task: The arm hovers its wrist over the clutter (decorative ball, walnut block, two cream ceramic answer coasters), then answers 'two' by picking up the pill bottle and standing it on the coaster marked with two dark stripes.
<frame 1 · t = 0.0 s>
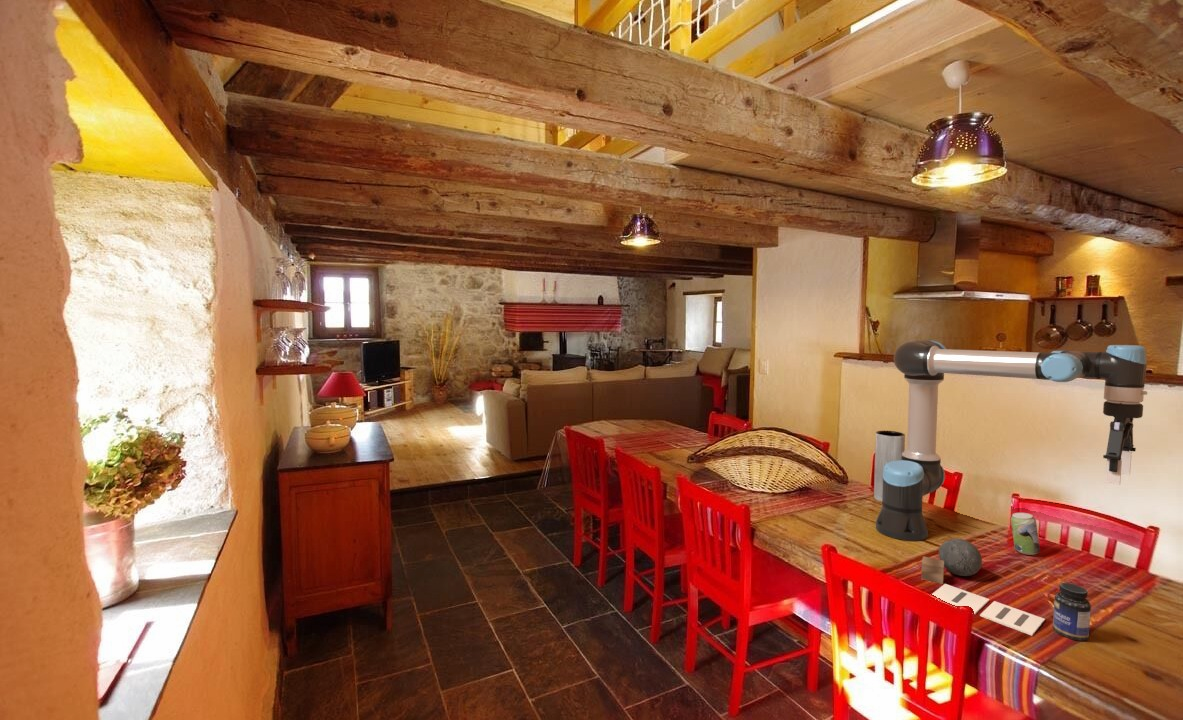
hand: (1118, 478, 142), 28 cm above the table, fingers open, 13 cm apart
coaster one: (959, 598, 134), on the table
beverage can: (1024, 553, 160), on the table
coaster two: (1012, 618, 125), on the table
decorative ball: (959, 574, 147), on the table
pill bottle: (1070, 634, 119), on the table
walnut block: (932, 579, 145), on the table
vase: (888, 500, 207), on the table
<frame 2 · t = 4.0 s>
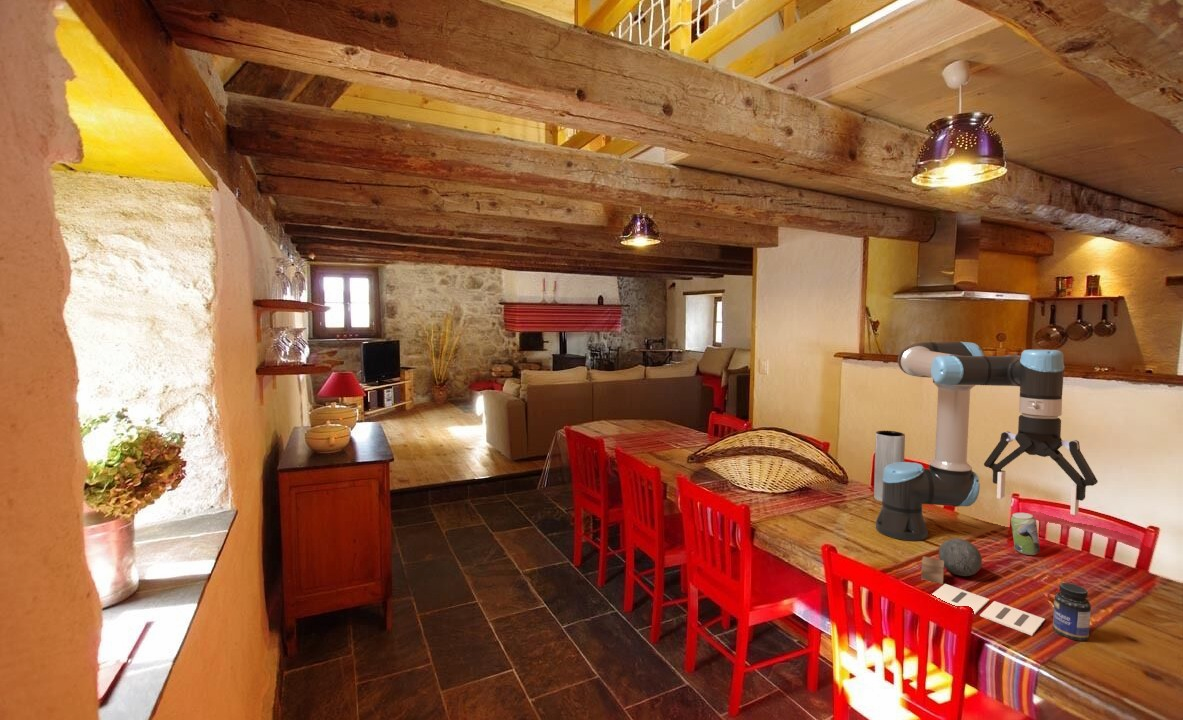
hand: (1035, 505, 122), 28 cm above the table, fingers open, 13 cm apart
nothing on the table moved.
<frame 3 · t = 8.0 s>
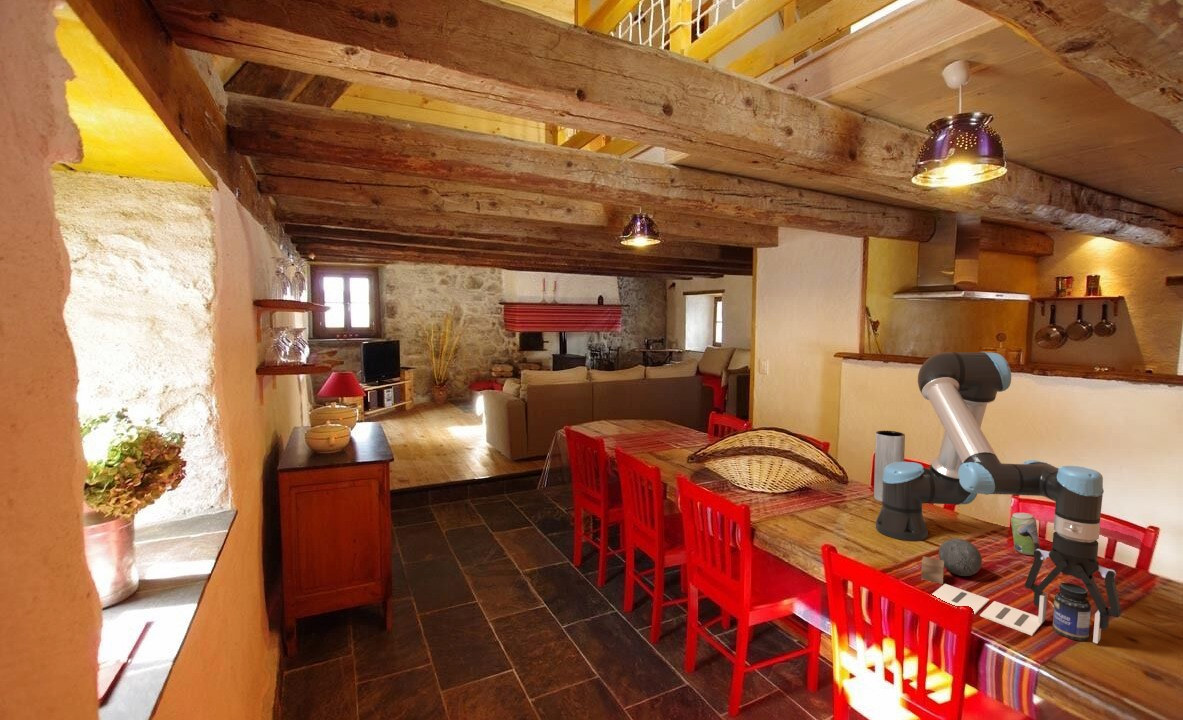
hand: (1068, 630, 119), 1 cm above the table, fingers open, 9 cm apart
nothing on the table moved.
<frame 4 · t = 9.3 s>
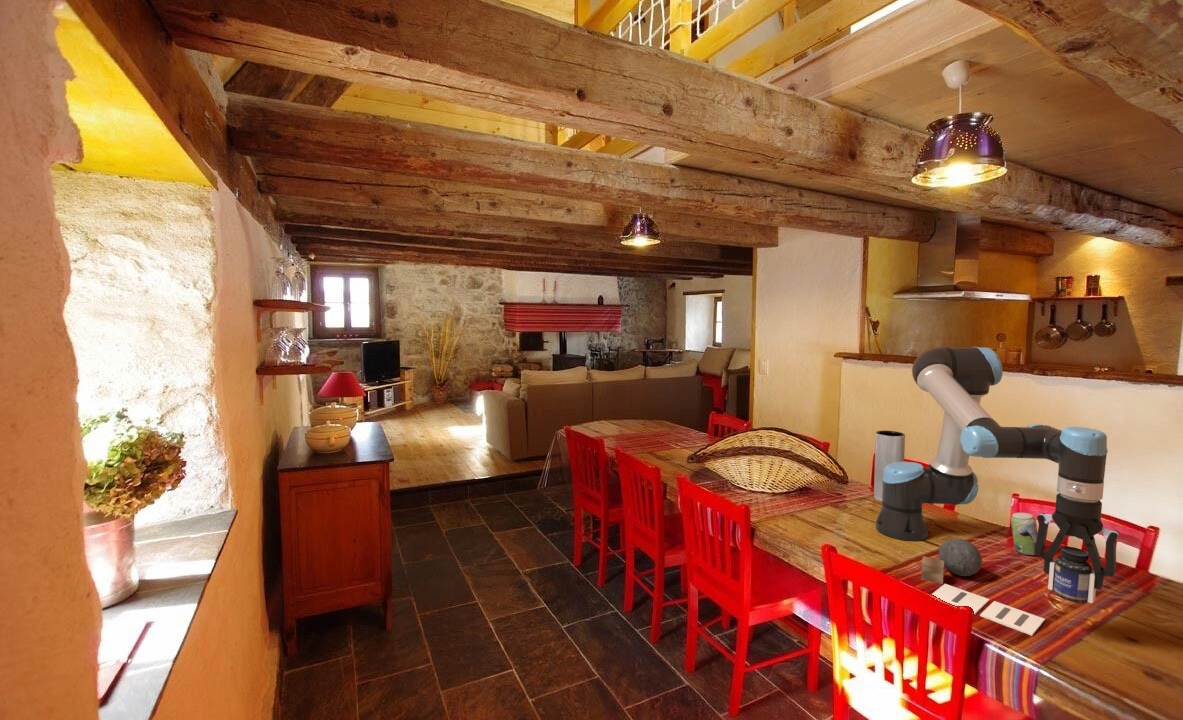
hand: (1071, 593, 119), 9 cm above the table, fingers closed on pill bottle, 6 cm apart
pill bottle: (1070, 597, 119), point 8 cm above the table, touching gripper
everything else where it was.
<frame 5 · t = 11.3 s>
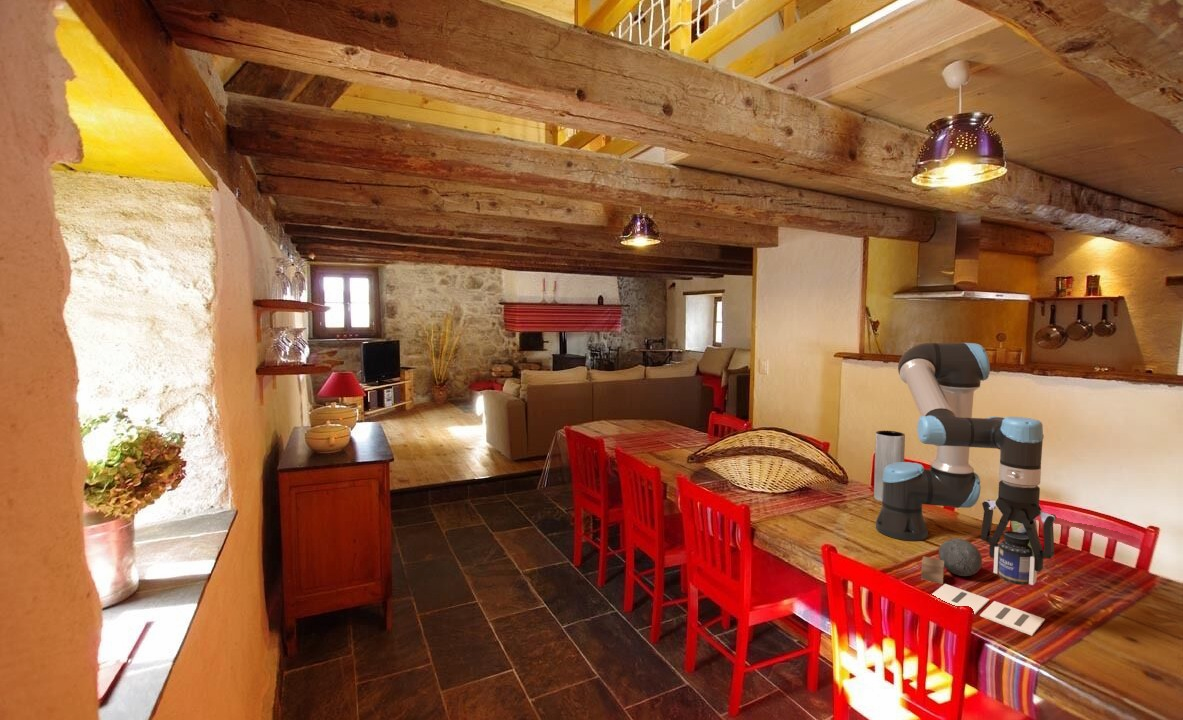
hand: (1014, 576, 124), 10 cm above the table, fingers closed on pill bottle, 6 cm apart
pill bottle: (1014, 580, 124), point 10 cm above the table, touching gripper
everything else where it was.
when the fingers open (2 cm above the table, at t = 13.5 s): pill bottle stays where it is, resting on coaster two.
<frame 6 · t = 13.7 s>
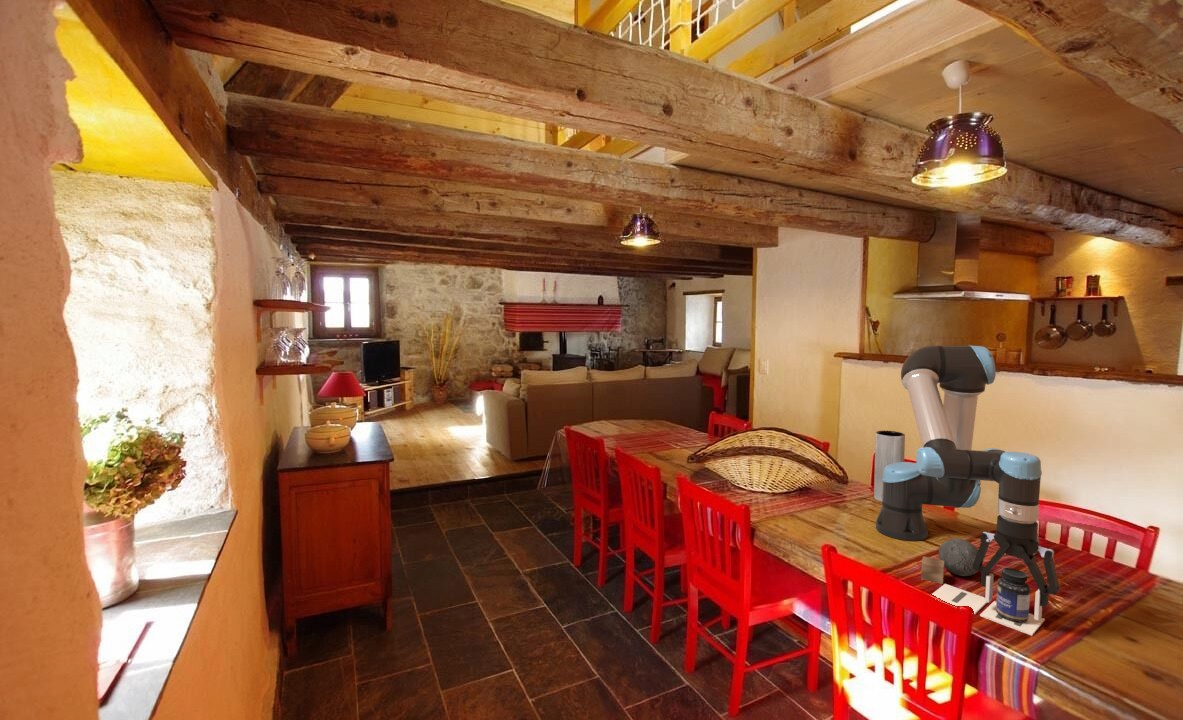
hand: (1012, 608, 125), 2 cm above the table, fingers open, 9 cm apart
pill bottle: (1012, 616, 125), resting on coaster two
everything else where it was.
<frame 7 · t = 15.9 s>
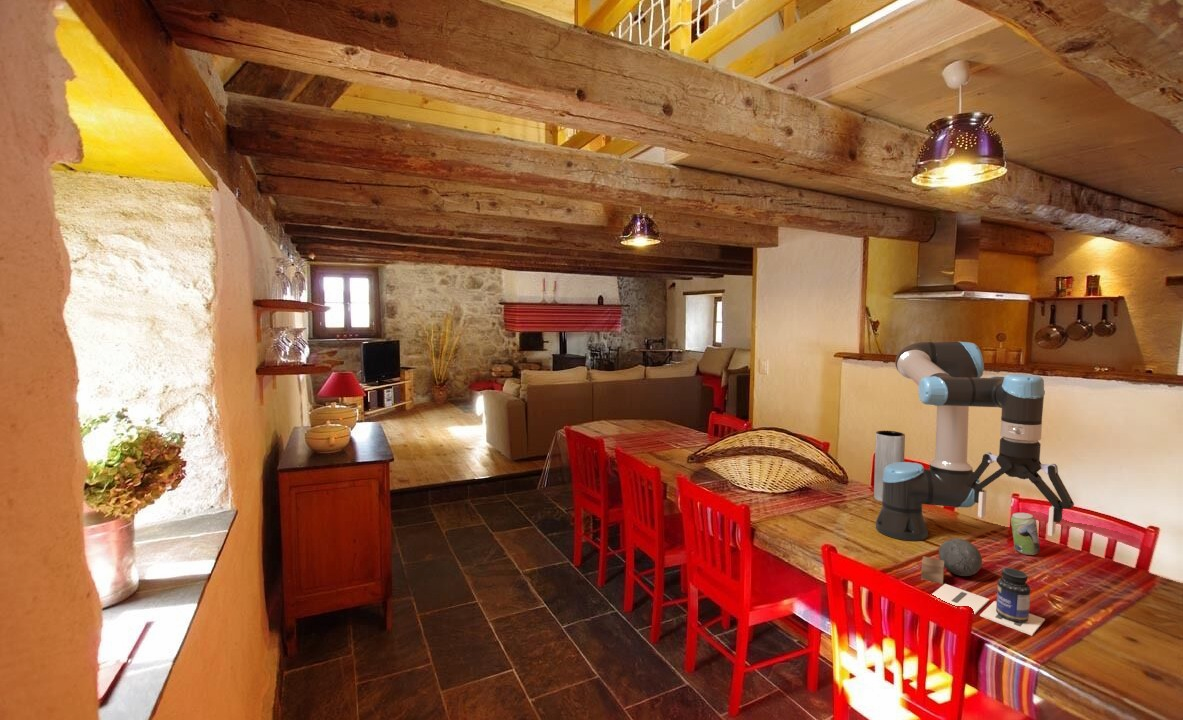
hand: (1014, 524, 126), 22 cm above the table, fingers open, 13 cm apart
nothing on the table moved.
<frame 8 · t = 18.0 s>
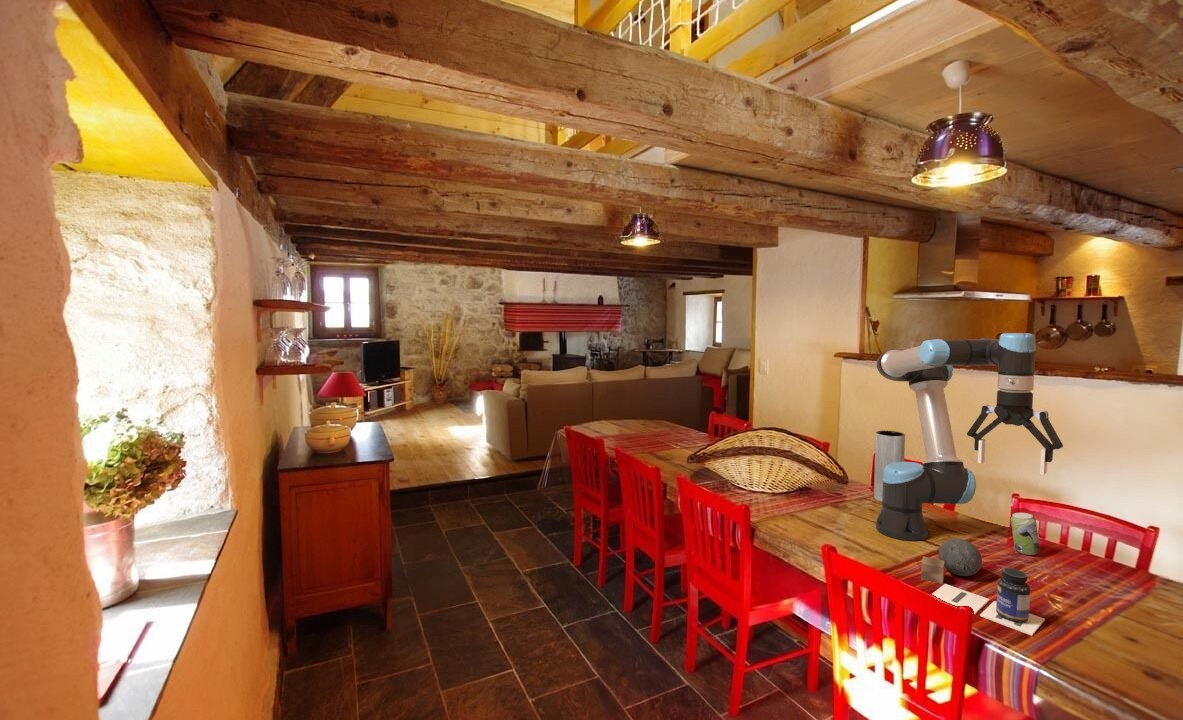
hand: (1010, 467, 141), 32 cm above the table, fingers open, 13 cm apart
nothing on the table moved.
at the end: pill bottle 0.0 cm from the coaster two (horizontally); pill bottle tilted 0°; the gripper is holding nothing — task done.
